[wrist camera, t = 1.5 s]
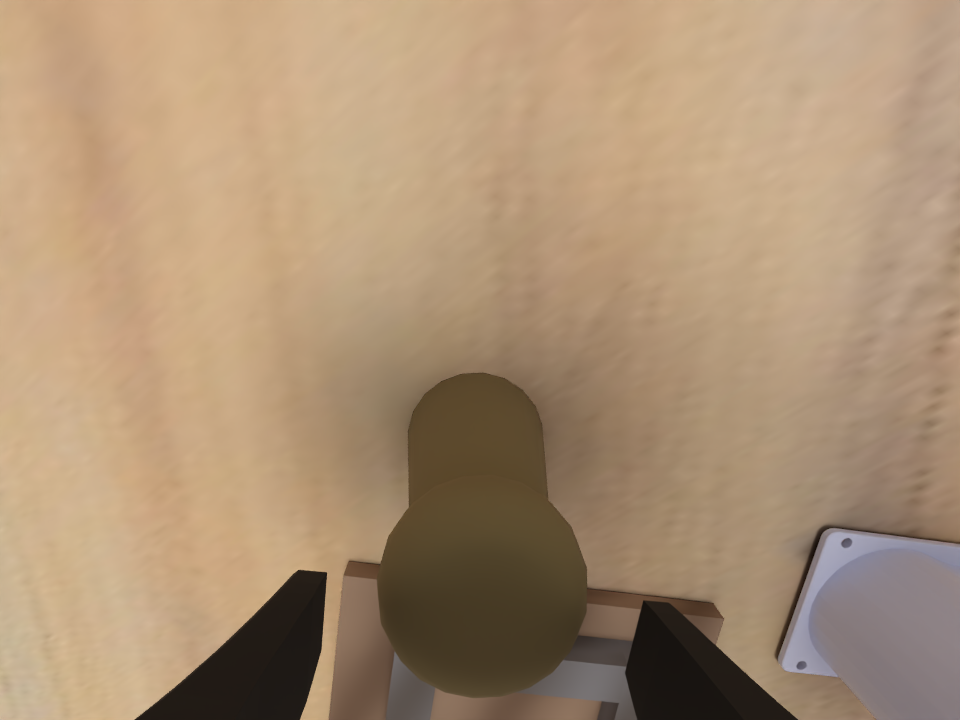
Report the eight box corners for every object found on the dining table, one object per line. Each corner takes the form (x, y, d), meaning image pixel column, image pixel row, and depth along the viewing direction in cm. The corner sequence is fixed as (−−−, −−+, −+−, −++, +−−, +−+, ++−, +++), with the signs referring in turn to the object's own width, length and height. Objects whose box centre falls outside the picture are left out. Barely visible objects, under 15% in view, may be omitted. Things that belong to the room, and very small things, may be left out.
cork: (479, 523, 22) (491, 788, 11) (379, 442, 21) (285, 647, 10) (570, 433, 21) (681, 626, 10) (471, 344, 20) (476, 452, 9)
